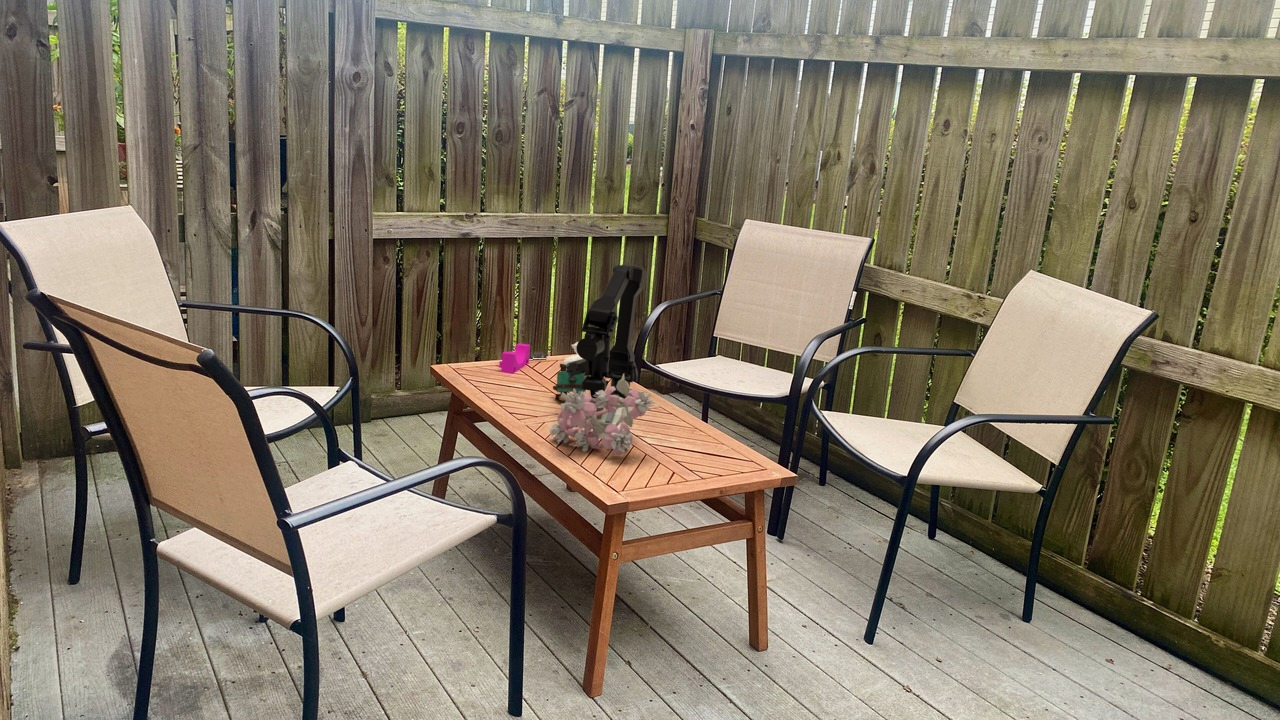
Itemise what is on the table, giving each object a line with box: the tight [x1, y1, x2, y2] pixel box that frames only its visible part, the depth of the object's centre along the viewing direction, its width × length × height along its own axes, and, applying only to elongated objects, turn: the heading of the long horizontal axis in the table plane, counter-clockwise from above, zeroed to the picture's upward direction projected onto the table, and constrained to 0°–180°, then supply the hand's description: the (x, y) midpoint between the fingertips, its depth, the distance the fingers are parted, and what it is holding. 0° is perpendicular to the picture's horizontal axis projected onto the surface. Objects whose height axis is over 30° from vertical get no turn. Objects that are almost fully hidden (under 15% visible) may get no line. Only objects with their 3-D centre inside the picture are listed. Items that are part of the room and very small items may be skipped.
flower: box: [549, 374, 655, 456], centre depth 241 cm, size 20×22×25 cm
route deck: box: [557, 391, 624, 440], centre depth 262 cm, size 25×16×5 cm, turn 176°
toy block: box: [498, 342, 531, 375], centre depth 308 cm, size 15×6×8 cm, turn 167°
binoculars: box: [552, 363, 587, 402], centre depth 279 cm, size 9×11×10 cm
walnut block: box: [591, 401, 603, 419], centre depth 262 cm, size 5×5×4 cm
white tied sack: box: [562, 341, 583, 371], centre depth 308 cm, size 12×8×11 cm, turn 114°
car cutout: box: [529, 351, 548, 362], centre depth 322 cm, size 15×7×4 cm, turn 120°
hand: (594, 407), depth 266 cm, fingers closed
